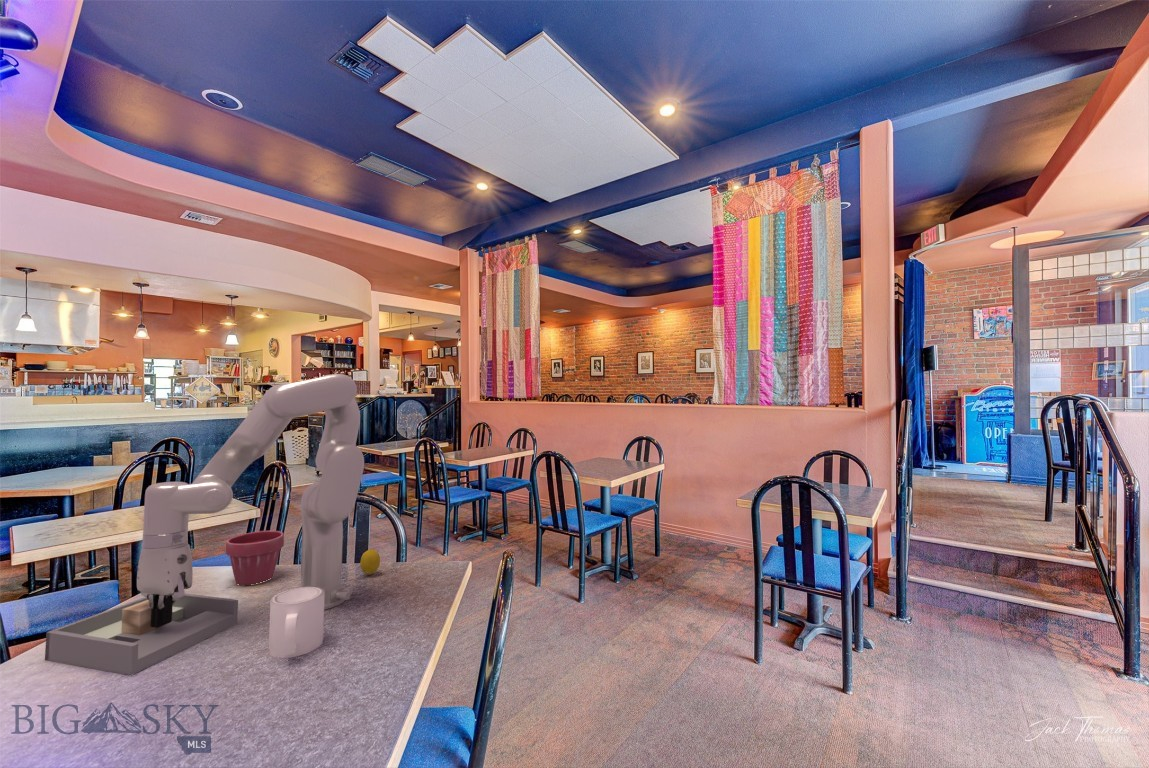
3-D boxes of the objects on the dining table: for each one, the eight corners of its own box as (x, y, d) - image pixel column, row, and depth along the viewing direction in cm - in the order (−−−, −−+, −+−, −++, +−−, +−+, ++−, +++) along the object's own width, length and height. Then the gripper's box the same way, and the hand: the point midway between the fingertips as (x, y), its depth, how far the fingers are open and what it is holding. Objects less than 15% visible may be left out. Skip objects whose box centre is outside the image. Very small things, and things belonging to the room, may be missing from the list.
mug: (320, 659, 96) (322, 606, 97) (261, 671, 92) (263, 615, 92) (324, 630, 108) (325, 583, 109) (272, 639, 104) (274, 590, 105)
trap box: (237, 623, 111) (238, 599, 112) (131, 675, 90) (132, 646, 90) (162, 613, 117) (163, 590, 117) (44, 659, 95) (46, 632, 95)
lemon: (372, 579, 140) (373, 552, 140) (355, 577, 141) (356, 550, 141) (383, 572, 145) (384, 546, 146) (367, 571, 146) (368, 545, 147)
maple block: (164, 624, 105) (165, 601, 105) (139, 635, 100) (140, 611, 101) (146, 622, 106) (147, 599, 107) (121, 632, 101) (122, 609, 102)
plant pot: (211, 587, 133) (213, 541, 134) (255, 570, 147) (257, 528, 147) (252, 592, 130) (254, 545, 130) (293, 574, 143) (295, 532, 144)
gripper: (209, 537, 105) (205, 620, 104) (157, 532, 108) (153, 613, 108) (174, 547, 98) (170, 637, 97) (119, 541, 101) (114, 628, 100)
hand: (161, 624), depth 102 cm, fingers closed
